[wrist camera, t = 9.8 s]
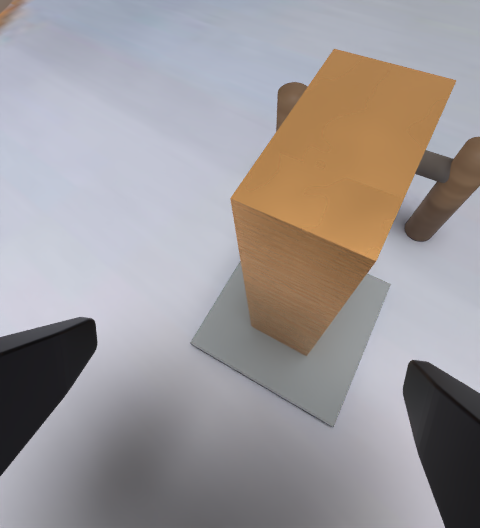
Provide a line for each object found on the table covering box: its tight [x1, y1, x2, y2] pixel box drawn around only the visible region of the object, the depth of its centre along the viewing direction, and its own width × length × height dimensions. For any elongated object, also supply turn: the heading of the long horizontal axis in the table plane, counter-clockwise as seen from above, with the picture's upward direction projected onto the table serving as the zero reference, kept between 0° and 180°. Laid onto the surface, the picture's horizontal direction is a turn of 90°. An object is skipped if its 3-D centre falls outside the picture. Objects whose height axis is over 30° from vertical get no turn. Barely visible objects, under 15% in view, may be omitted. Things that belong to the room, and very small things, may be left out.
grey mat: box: [191, 261, 391, 427], centre depth 22 cm, size 10×10×1 cm
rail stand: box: [276, 82, 480, 241], centre depth 22 cm, size 2×13×8 cm, turn 61°
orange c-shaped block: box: [231, 49, 456, 356], centre depth 16 cm, size 7×4×14 cm, turn 150°
